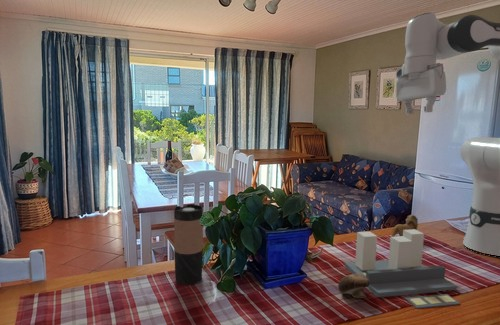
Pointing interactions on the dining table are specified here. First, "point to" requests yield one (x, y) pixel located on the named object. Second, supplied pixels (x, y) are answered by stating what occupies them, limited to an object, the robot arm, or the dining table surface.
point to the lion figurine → (406, 225)
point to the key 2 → (415, 246)
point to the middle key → (399, 252)
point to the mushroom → (354, 285)
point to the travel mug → (188, 244)
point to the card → (432, 301)
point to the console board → (403, 279)
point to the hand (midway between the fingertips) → (418, 113)
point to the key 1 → (366, 250)
